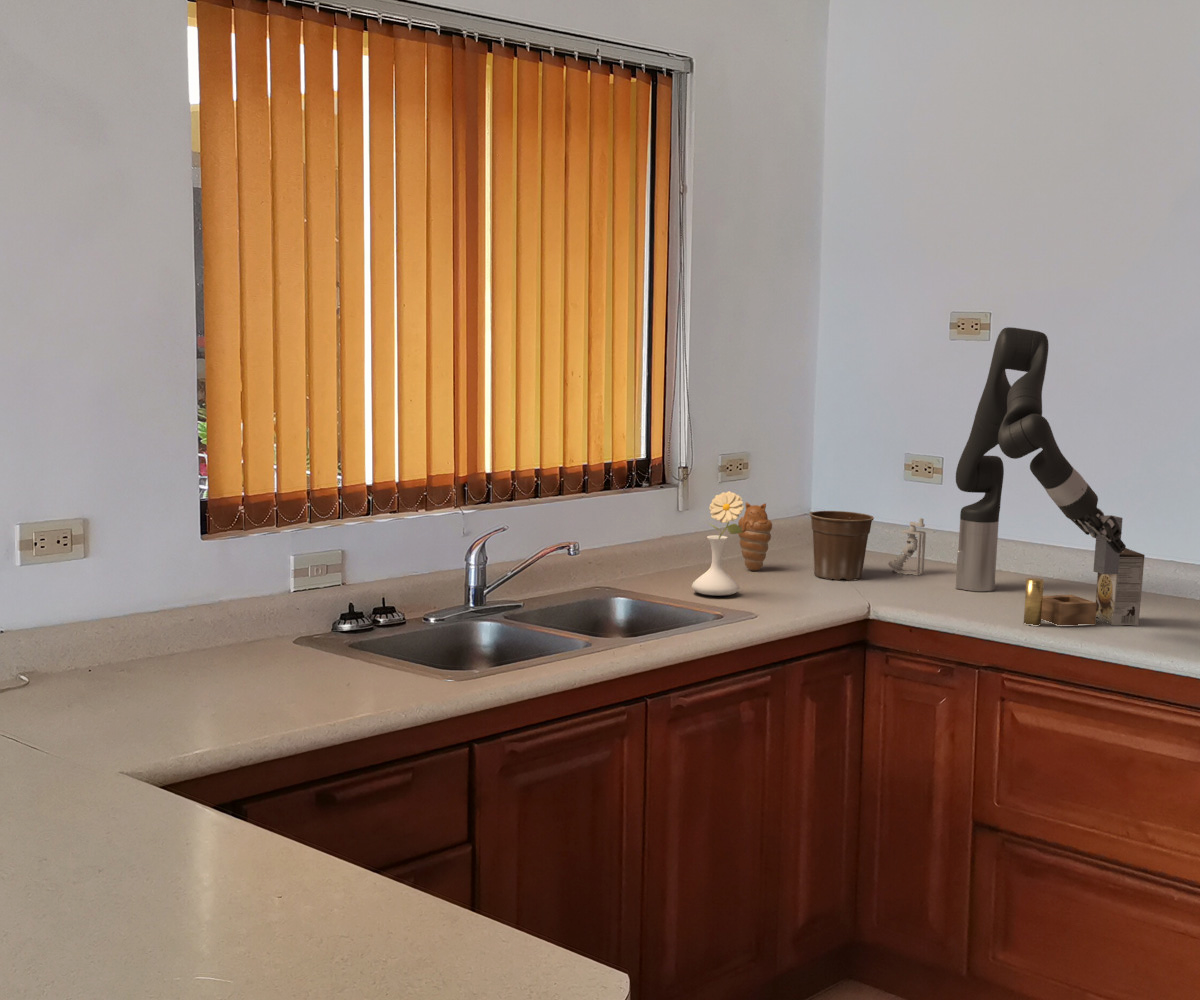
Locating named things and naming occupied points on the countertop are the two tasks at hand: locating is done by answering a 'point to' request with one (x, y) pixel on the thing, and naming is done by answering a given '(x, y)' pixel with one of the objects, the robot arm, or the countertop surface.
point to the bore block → (1068, 610)
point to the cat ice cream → (754, 535)
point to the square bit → (1106, 553)
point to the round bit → (1033, 601)
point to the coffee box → (1121, 591)
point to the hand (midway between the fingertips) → (1115, 548)
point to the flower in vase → (720, 547)
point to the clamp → (911, 549)
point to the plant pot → (839, 543)
